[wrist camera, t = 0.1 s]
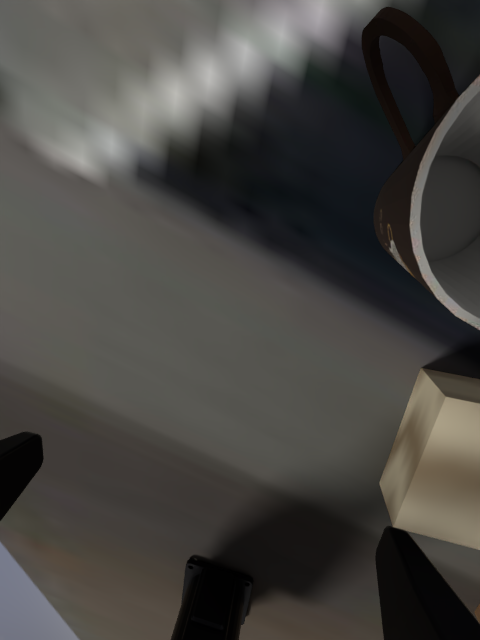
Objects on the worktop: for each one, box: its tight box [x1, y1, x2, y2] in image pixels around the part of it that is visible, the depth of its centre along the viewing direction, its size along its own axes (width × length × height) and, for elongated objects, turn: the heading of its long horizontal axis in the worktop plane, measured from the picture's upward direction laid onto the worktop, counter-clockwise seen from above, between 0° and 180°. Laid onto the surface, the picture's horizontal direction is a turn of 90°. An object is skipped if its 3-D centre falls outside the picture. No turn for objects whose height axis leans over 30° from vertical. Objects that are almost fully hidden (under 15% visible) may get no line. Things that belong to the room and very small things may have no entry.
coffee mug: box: [362, 7, 480, 330], centre depth 13 cm, size 12×9×10 cm
